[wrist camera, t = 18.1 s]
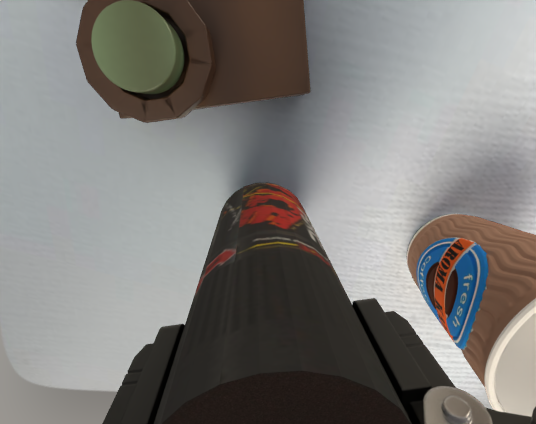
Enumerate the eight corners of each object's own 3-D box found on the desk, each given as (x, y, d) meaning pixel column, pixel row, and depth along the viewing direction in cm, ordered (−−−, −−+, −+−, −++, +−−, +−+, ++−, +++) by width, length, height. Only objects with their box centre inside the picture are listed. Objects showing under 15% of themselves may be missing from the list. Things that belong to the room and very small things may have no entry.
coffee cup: (400, 188, 24) (533, 261, 12) (523, 197, 24) (754, 273, 13) (375, 299, 27) (462, 436, 16) (483, 304, 28) (641, 439, 16)
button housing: (131, 125, 21) (100, 129, 17) (83, -55, 18) (30, -106, 14) (304, 101, 21) (317, 99, 17) (289, -83, 18) (299, -143, 14)
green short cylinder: (121, 98, 17) (105, 97, 15) (100, 18, 16) (78, 5, 14) (191, 89, 17) (183, 86, 15) (175, 8, 16) (164, -7, 14)
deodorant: (202, 235, 21) (91, 509, 6) (252, 164, 19) (247, 318, 5) (272, 277, 22) (306, 583, 8) (323, 214, 21) (478, 447, 6)
